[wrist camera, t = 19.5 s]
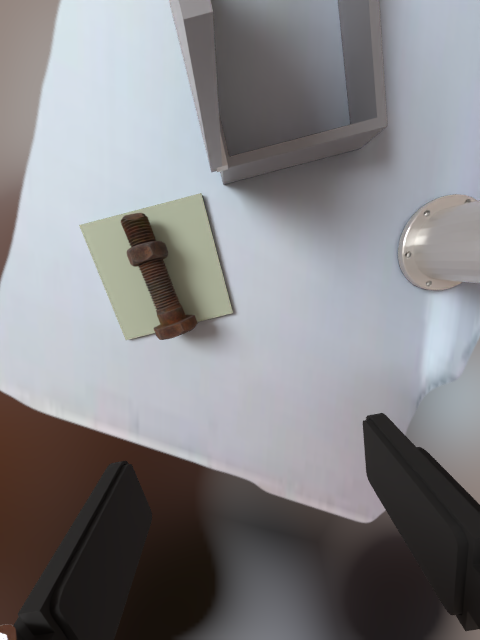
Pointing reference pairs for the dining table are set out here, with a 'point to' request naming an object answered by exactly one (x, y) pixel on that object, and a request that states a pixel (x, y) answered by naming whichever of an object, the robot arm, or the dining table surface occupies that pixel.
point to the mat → (182, 262)
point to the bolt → (156, 276)
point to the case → (365, 123)
